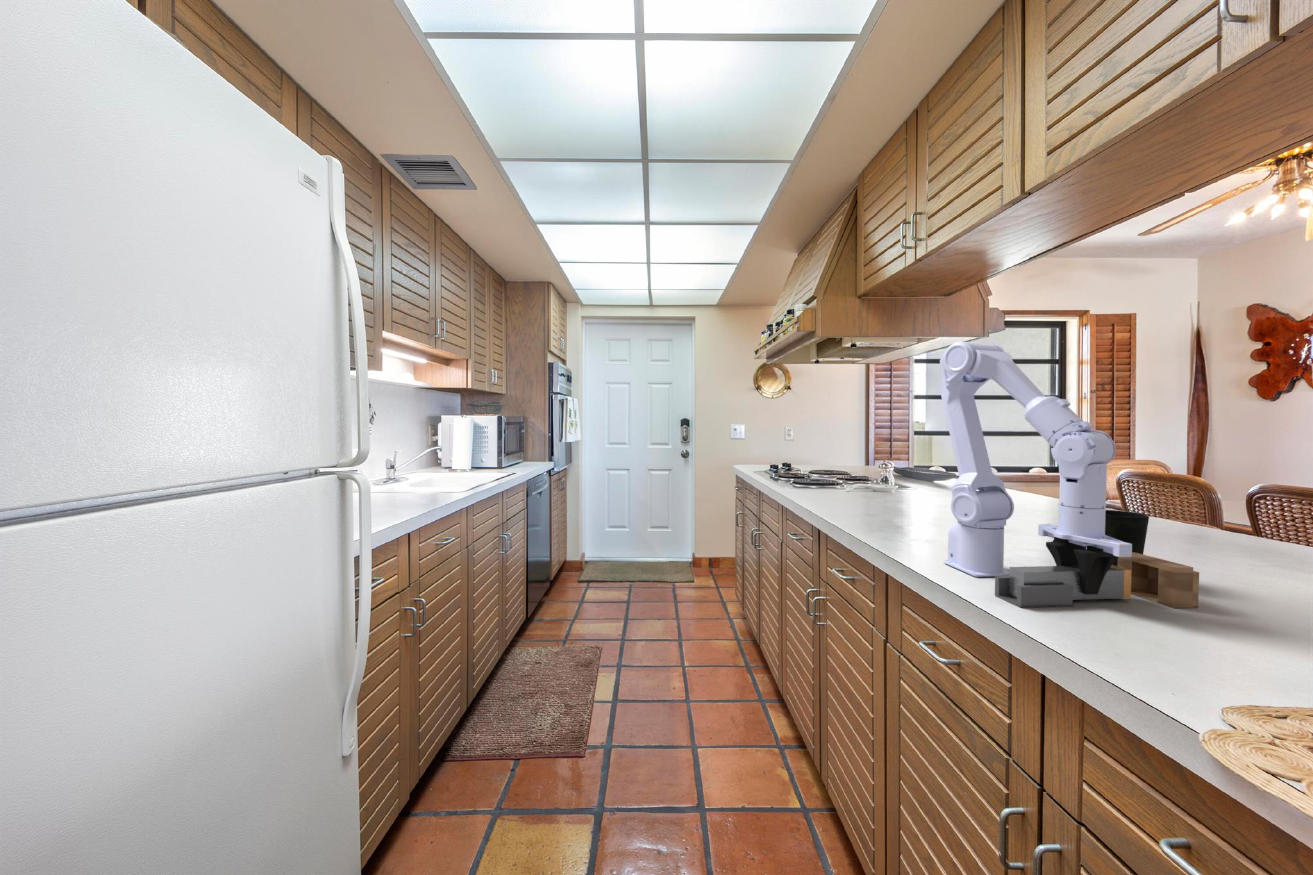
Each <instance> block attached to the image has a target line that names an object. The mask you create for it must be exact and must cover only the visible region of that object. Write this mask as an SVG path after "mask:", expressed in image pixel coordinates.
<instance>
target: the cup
mask: <svg viewBox="0 0 1313 875" xmlns="http://www.w3.org/2000/svg"><path fill="white" fill-rule="evenodd" d="M1149 520H1150V516H1149V515H1148V514H1144V513H1139V512H1133V511H1127V510H1126V511H1125V510H1116V509H1115V510H1112V509H1106V511H1105V535H1106V536H1109V537H1112V538H1114V539H1117V540H1120V541H1123V542H1126V543H1130V544H1132V552H1135V553H1139V554H1143V555H1144V553H1145V552H1144V551H1145V545H1146V540H1147V538H1146V537H1147V532H1148V526H1149ZM1117 564H1118V559H1117V560H1116V561H1115V562H1114V563H1113V564H1112V565H1116V566H1117Z"/></svg>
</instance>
